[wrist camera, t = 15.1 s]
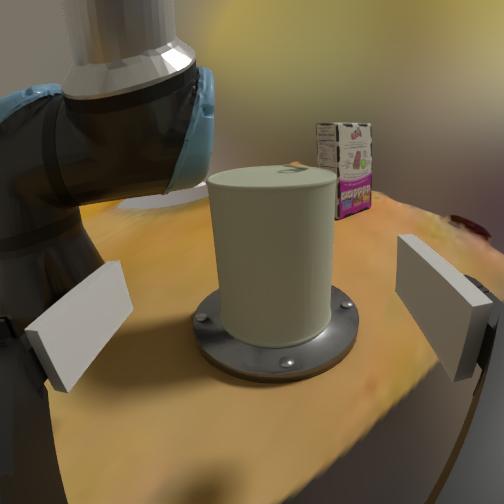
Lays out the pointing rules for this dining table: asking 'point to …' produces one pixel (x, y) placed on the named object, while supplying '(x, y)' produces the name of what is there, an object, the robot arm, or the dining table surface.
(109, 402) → the dining table surface
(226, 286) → the can
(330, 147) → the candy bar box
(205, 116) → the robot arm
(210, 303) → the flange plate
